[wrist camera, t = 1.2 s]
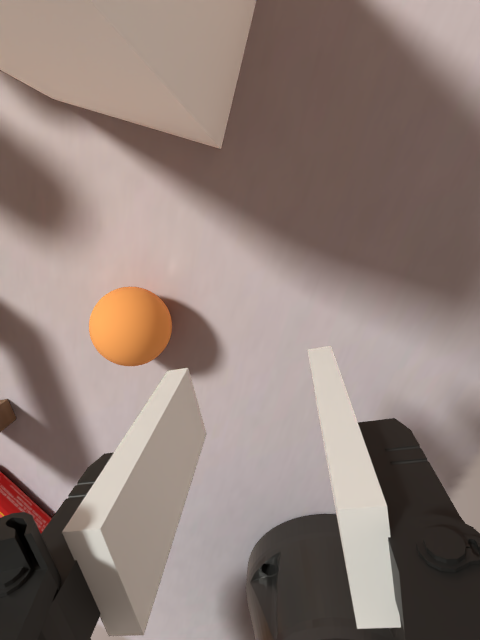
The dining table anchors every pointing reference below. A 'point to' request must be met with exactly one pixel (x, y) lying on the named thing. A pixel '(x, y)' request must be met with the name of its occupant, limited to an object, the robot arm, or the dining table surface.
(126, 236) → the dining table surface
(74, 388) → the dining table surface
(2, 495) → the candy bar
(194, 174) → the dining table surface
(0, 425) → the bridge
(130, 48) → the milk
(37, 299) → the dining table surface
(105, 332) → the ball
